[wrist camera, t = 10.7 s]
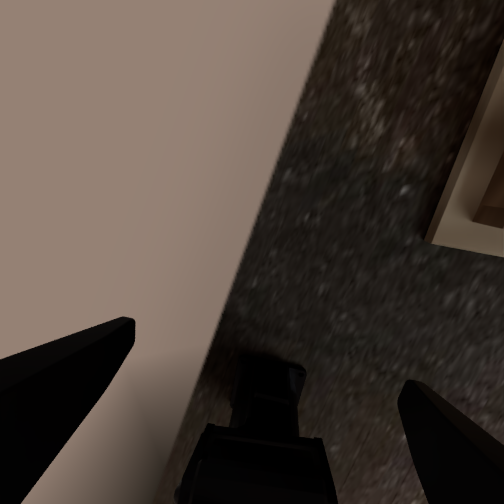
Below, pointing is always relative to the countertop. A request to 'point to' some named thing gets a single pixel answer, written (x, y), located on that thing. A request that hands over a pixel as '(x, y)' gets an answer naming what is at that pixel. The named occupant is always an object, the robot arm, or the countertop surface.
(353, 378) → the countertop surface
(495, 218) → the socket board
